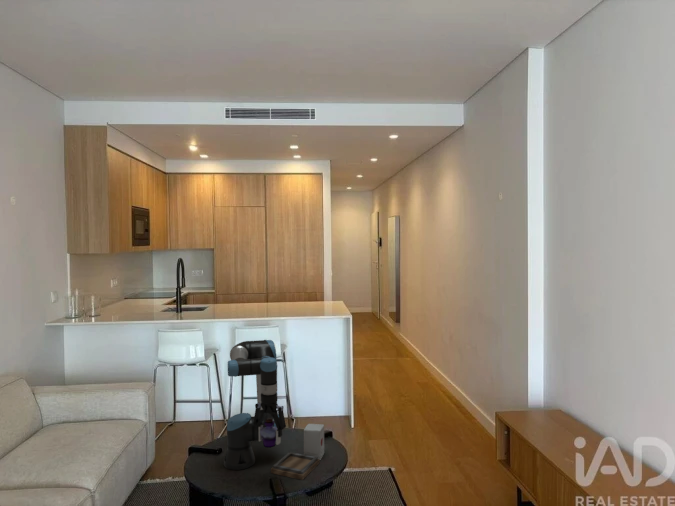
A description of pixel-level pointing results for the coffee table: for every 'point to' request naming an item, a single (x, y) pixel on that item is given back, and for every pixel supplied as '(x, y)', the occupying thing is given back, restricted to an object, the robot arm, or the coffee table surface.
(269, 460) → the coffee table surface
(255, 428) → the robot arm
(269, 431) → the potion bottle
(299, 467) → the jig plate
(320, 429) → the supplement box
